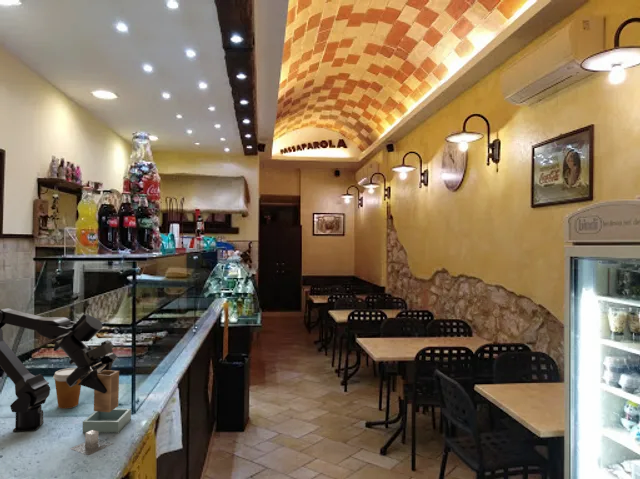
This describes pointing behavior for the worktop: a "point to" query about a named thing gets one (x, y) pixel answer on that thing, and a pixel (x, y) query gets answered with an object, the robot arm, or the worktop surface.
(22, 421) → the robot arm
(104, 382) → the sleeve
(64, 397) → the disposable coffee cup
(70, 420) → the worktop surface
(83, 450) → the stake base
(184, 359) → the worktop surface
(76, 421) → the worktop surface
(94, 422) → the tray
